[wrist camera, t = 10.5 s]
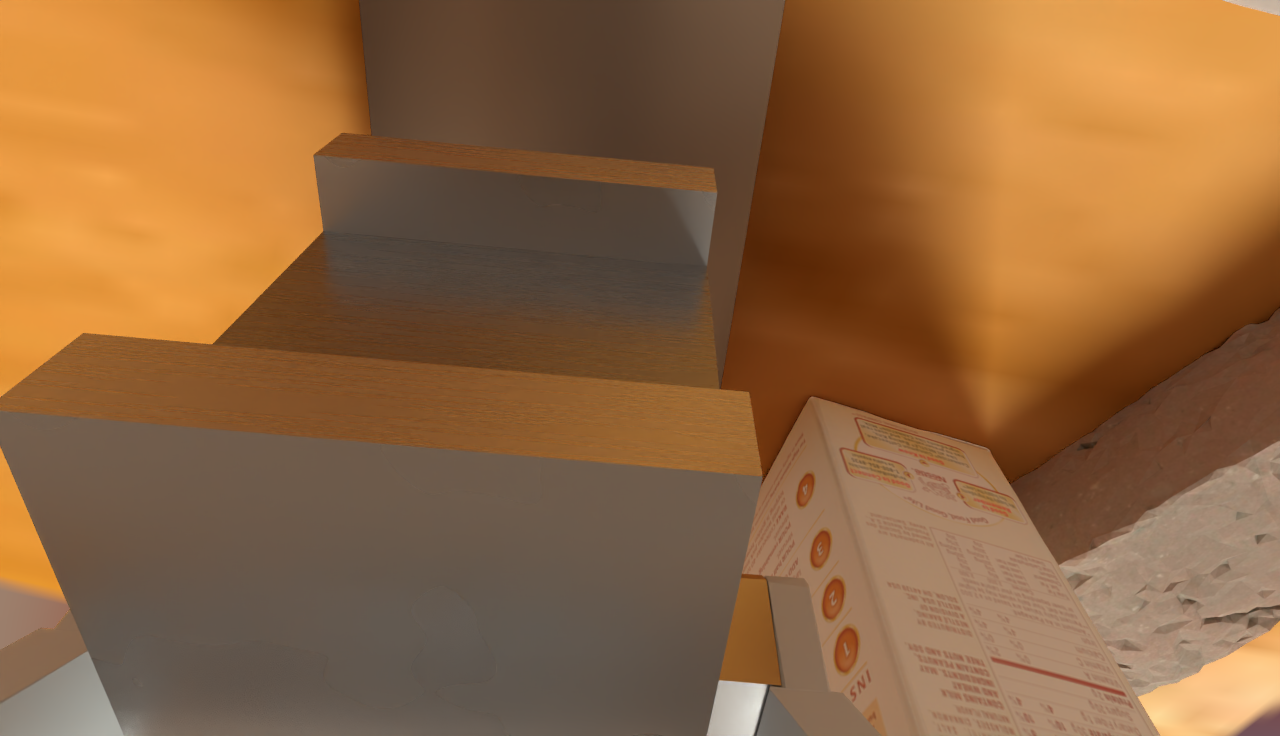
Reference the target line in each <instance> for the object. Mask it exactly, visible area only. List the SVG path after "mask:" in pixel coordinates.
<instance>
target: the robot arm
mask: <svg viewBox="0 0 1280 736" xmlns="http://www.w3.org/2000/svg"><path fill="white" fill-rule="evenodd" d="M0 736H124V734H123V732H122V730H121V727H120V725H119V723H118V720H117V718H116V716H115V713H114V711H113V709H112V706H111V704H110V702H109V699H108V697H107V695H106V692H105V690H104V688H103V685H102V683H101V681H100V678H99V676H98V674H97V671H96V669H95V667H94V664H93V662H92V660H91V657H90V655H89V652H88V650H87V648H86V645H85V643H84V641H83V638H82V636H81V634H80V631H79V629H78V627H77V624H76V622H75V620H74V617H73V615H72V613H71V610H69V611H68V612H67V613H66V614H65V616H64V617H63V618H62V619H61V621H60V622H59V623H58V624H57V626H56V627H55V628H54V629H48V628H40V629H38V630H36V631H34V632H32V633H30V634H29V635H27V636H25V637H23V638H21V639H19V640H18V641H16V642H14V643H12V644H10V645H8V646H7V647H5V648H3V649H1V650H0ZM707 736H881V735H880V734H879V732H878V731H877V730H876V729H875V728H874V727H873V726H872V725H871V723H870V722H869V721H868V720H867V719H866V718H865V717H864V716H863V715H862V713H861V712H860V711H859V710H858V709H857V708H856V707H855V706H854V704H853V703H852V702H851V701H850V700H849V699H848V698H847V697H846V696H845V694H844V693H840V692H831V691H830V686H829V681H828V676H827V671H826V666H825V662H824V657H823V652H822V647H821V642H820V637H819V632H818V628H817V623H816V618H815V613H814V608H813V603H812V598H811V593H810V589H809V585H808V583H807V582H806V580H805V579H804V578H793V577H779V576H766V575H765V576H764V577H763V576H762V575H754V574H742V575H741V580H740V584H739V589H738V594H737V598H736V603H735V608H734V612H733V617H732V621H731V626H730V631H729V635H728V640H727V645H726V649H725V654H724V659H723V663H722V668H721V672H720V677H719V682H718V686H717V691H716V696H715V700H714V705H713V709H712V714H711V719H710V723H709V728H708V733H707Z"/></svg>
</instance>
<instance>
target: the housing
mask: <svg viewBox="0 0 1280 736" xmlns="http://www.w3.org/2000/svg"><path fill="white" fill-rule="evenodd" d="M314 163H315V170H316V178H317V186H318V193H319V201H320V208H321V216H322V223H323V232H322V233H321V234H320V235H319V236H318V237H317V238H316V239H315V240H314V241H313V242H312V243H311V244H310V246H309V247H308V248H307V249H306V250H305V251H304V252H303V253H302V254H301V255H300V256H299V257H298V258H297V259H296V260H295V261H294V262H293V263H292V264H291V265H290V266H289V267H288V268H287V269H286V270H285V271H284V272H283V273H282V274H281V275H280V276H279V277H278V278H277V279H276V280H275V281H274V282H273V283H272V284H271V285H270V286H269V287H268V288H267V289H266V290H265V291H264V292H263V293H262V294H261V295H260V296H259V297H258V298H257V299H256V300H255V302H254V303H253V304H252V305H251V306H250V307H249V308H248V309H247V310H246V311H245V312H244V313H243V314H242V315H241V316H240V317H239V318H238V319H237V320H236V321H235V322H234V323H233V324H232V325H231V326H230V327H229V328H228V329H227V330H226V331H225V332H224V333H223V334H222V335H221V336H220V337H219V338H218V339H217V340H216V341H215V342H214V343H213V344H201V343H190V342H179V341H168V340H156V339H145V338H134V337H122V336H111V335H100V334H88V333H83V334H81V335H80V336H79V337H78V338H76V339H75V340H74V341H72V342H71V343H70V344H69V345H67V346H66V347H65V348H63V349H62V350H61V351H59V352H58V353H57V354H56V355H54V356H53V357H52V358H50V359H49V360H48V361H47V362H45V363H44V364H43V365H41V366H40V367H39V368H38V369H36V370H35V371H34V372H32V373H31V374H30V375H28V376H27V377H26V378H25V379H23V380H22V381H21V382H19V383H18V384H17V385H16V386H14V387H13V388H12V389H10V390H9V391H8V392H6V393H5V394H4V395H3V396H1V397H0V446H1V449H2V451H3V453H4V456H5V458H6V460H7V463H8V465H9V467H10V470H11V472H12V475H13V477H14V479H15V482H16V484H17V486H18V489H19V491H20V493H21V496H22V498H23V500H24V503H25V505H26V507H27V510H28V512H29V514H30V517H31V519H32V521H33V524H34V526H35V528H36V531H37V533H38V535H39V538H40V540H41V542H42V545H43V547H44V549H45V552H46V554H47V556H48V559H49V561H50V563H51V566H52V568H53V571H54V573H55V575H56V578H57V580H58V582H59V585H60V587H61V589H62V592H63V594H64V596H65V599H66V601H67V603H68V606H69V608H70V610H71V613H72V615H73V617H74V620H75V622H76V624H77V627H78V629H79V631H80V634H81V636H82V638H83V641H84V643H85V645H86V648H87V650H88V652H89V655H90V657H91V660H92V662H93V664H94V667H95V669H96V671H97V674H98V676H99V678H100V681H101V683H102V685H103V688H104V690H105V692H106V695H107V697H108V699H109V702H110V704H111V706H112V709H113V711H114V713H115V716H116V718H117V720H118V723H119V725H120V727H121V730H122V732H123V734H124V736H707V733H708V728H709V723H710V719H711V714H712V709H713V705H714V700H715V696H716V691H717V686H718V682H719V677H720V672H721V668H722V663H723V659H724V654H725V649H726V645H727V640H728V635H729V631H730V626H731V621H732V617H733V612H734V608H735V603H736V598H737V594H738V589H739V584H740V580H741V575H742V571H743V566H744V561H745V557H746V552H747V547H748V543H749V538H750V533H751V529H752V524H753V520H754V515H755V510H756V506H757V501H758V496H759V492H760V487H761V483H762V478H763V475H762V468H761V462H760V456H759V450H758V443H757V437H756V431H755V425H754V418H753V412H752V406H751V400H750V393H749V392H744V391H733V390H722V389H719V380H718V370H717V360H716V350H715V341H714V331H713V321H712V311H711V302H710V292H709V282H708V272H707V262H708V255H709V248H710V241H711V234H712V227H713V220H714V213H715V206H716V199H717V187H716V181H715V175H714V169H713V168H710V167H699V166H688V165H678V164H667V163H657V162H646V161H635V160H625V159H614V158H603V157H593V156H582V155H571V154H561V153H550V152H540V151H529V150H518V149H508V148H497V147H486V146H476V145H465V144H454V143H444V142H433V141H423V140H412V139H401V138H391V137H380V136H369V135H359V134H348V133H341V134H340V135H339V136H337V137H336V138H335V139H333V140H332V141H331V142H330V143H328V144H327V145H326V146H324V147H323V148H322V149H321V150H319V151H318V152H317V153H315V154H314Z"/></svg>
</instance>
